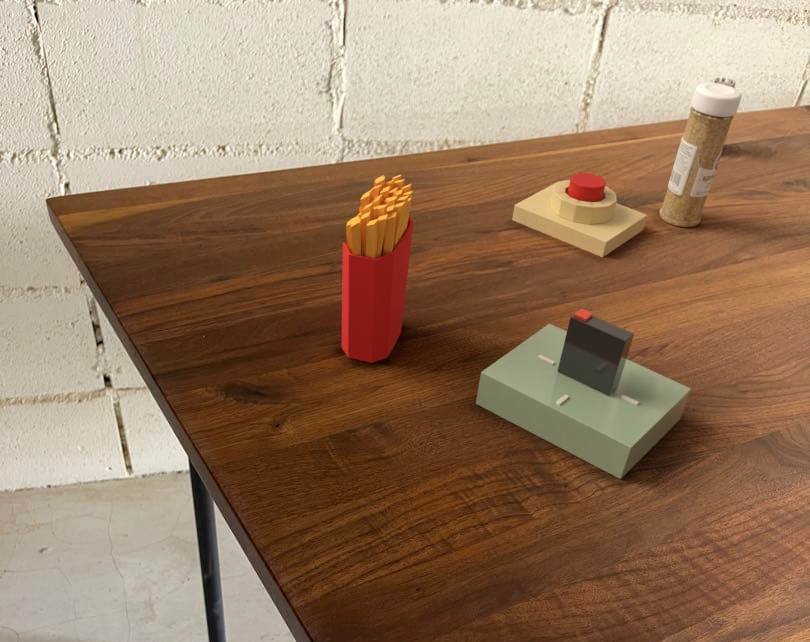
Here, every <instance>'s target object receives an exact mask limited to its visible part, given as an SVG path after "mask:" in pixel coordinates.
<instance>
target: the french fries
mask: <svg viewBox="0 0 810 642" xmlns="http://www.w3.org/2000/svg"><path fill="white" fill-rule="evenodd" d="M402 175H403V173H402V174H398V175H396V176H393V177H392V178H391V180H389V181H386V175H385V174H382V175H381V176H379V177H377V178H376V179H375V180H374V181H373V187H372V188H371V189H370V190H369V191H367V192H365V193H364V194H362V195H361V198H360V207H359V208H358V211H359V213H358V214H357V215H356V216H354V217H353V218H350V220H349V221H347V223H346V226H345V232H346V234H345V235H346V242H342V264H341V265H342V269H341V271H342V272H341V273H342V275H341V276H342V277H341V279H342V280H341V349H342V351H343V352H344V353H345V355H346V357H347V358H348V359H354V360H357V361H362V362H365V363H371V364H372V363H376V362H379V361H382V360H385V359H387V358H389V356H390V354H391V353H392V351H393V349H394V348H395V346H396V344H397V342H398V340H399V338H400V336H401V333H402V329H403V319H404V310H405V302H406V292H407V283H408V275H409V265H410V258H411V257H410V256H411V248H412V247H411V246H412V239H413V230H414V221H413V220H412V218H411V216H410V211H411V205H412V199H413V193H414V190H412V183H410V184H407V185H406V184H405V182H406V181H405V179H406V178H403V179H402Z"/></svg>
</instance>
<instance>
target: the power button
mask: <svg viewBox="0 0 810 642" xmlns="http://www.w3.org/2000/svg"><path fill="white" fill-rule="evenodd" d="M569 180H570V184H569V188H568V193H567V194H568V195H569V196H570V197H571V198H574V199H576V200H579V201H586V202H600V201H601V200H602V197H603V193H604V189H605V186H606V184H607V182H606V180H605V179H604V178H603V177H601V176H599V175H597V174H594V173H589V172H577V173H574V174H572V175H571V176H570V179H569Z"/></svg>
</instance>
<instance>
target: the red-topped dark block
mask: <svg viewBox="0 0 810 642" xmlns="http://www.w3.org/2000/svg"><path fill="white" fill-rule="evenodd" d="M566 331H567V334H566V338H565V342H564V346H563V350H562V354H561V358H560V362H559V366H558V370H557V371H558V372H560V373H562V374H565V375H567V376H569V377H571V378H573V379H575V380H577V381H579V382H581V383H583V384H586V385H588V386H590V387H592V388H594V389H596V390H598V391H600V392H602V393H604V394H606V395H610V394H611V393H613V392H614V391H615V390H616V389H617V388H618V385H619V382H620V378H621V375H622V372H623V369H624V365H625V362H626V359H628V355H629V353H630V349H631V346H632V343H633V339H634V336H635V334H634V333H633V332H631V331H629V330H627V329H624V328H622V327H620V326H617V325H616V324H613V323H610V322H608V321H606V320H604V319H601V318H599V317H597V316H595V315H594V313H593V312H591V311H588V310H586V309H585V308H580V309H578V310H577V311H576V312H575V313H574V314H572V315H571V316H570V318H569V322H568V326H567V330H566Z"/></svg>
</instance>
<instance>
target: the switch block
mask: <svg viewBox="0 0 810 642" xmlns="http://www.w3.org/2000/svg"><path fill="white" fill-rule="evenodd" d="M569 184H570V179H566V180H561V181H560V180H559V181H556V182H555V183H552V184H551V185H548V186H546V187H545V188H544V189H542V190H539V191H538V192H536V193H534V194H532V195H531V196H529V197H526V198H524V199H523V200H521V201H519V202H517V203H516V204H514V207H513V212H512V218H511V220H512V221H514V222H516V223H518V224H521V225H523V226H525V227H528V228H530V229H532V230H535V231H538V232H540V233H543V234H545V235H547V236H549V237H552V238H555V239H557V240H560V241H562V242H564V243H567V244H569V245H571V246H574V247H576V248H578V249H581V250H584V251H586V252H588V253H591V254H593V255H596V256H598V257H601V258H604V257H605V256H607V255H609V254H610V253H611V252H613V251H614V250H616V249H617V248H619V247H621V246H622V245H624V244H625V243H626V242H627V241H629V240H631V239H632V238H634V237H635V236H636V235H638V234H639V233H641V232H642V231H644V229H645V226H646V221H647V219H648V214H646V213H644V212H641V211H639V210H635V209H633V208H631V207H628V206H625V205H622V204H621V203H617V200H618V198H617V193H616V192H614V190H612V189H611V188H609V186H606V185H605V189H604V193H603V197H602V200H601V201H600V202H586V201H579V200H576V199H574V198H571V197H570V196H569V195H568V194H567V193H568V188H569Z"/></svg>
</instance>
